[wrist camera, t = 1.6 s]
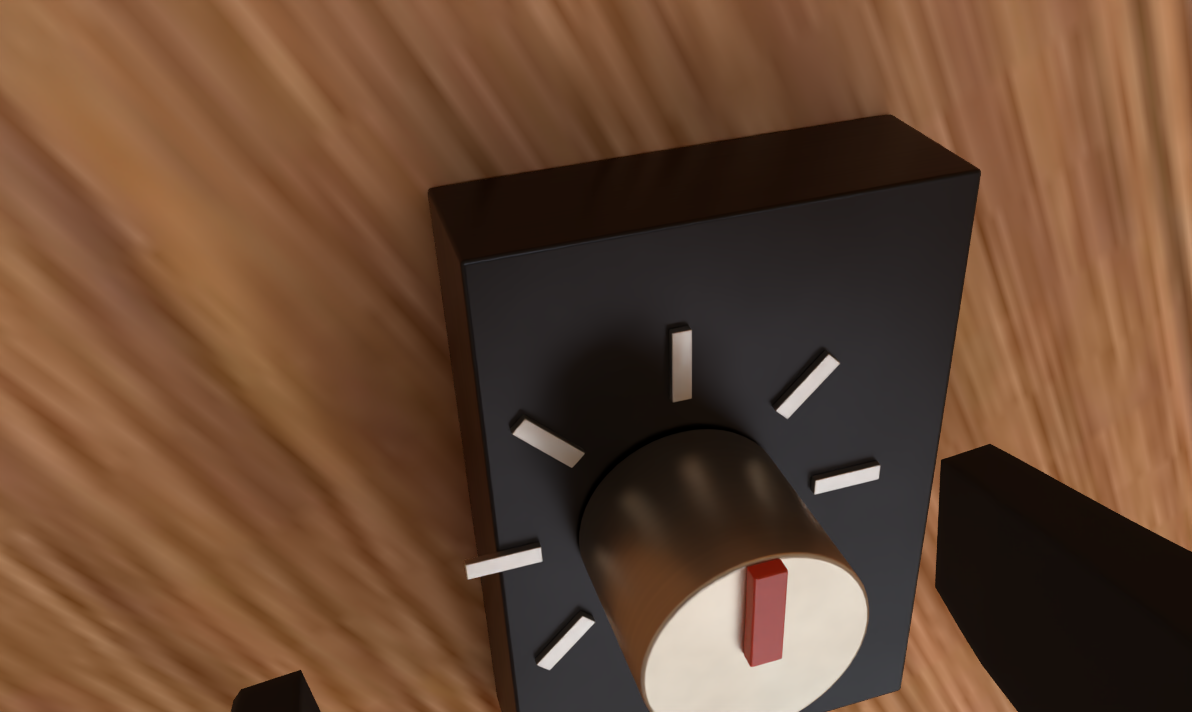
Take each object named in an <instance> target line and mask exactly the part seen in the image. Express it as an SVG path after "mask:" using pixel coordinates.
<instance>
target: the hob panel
mask: <svg viewBox="0 0 1192 712" xmlns="http://www.w3.org/2000/svg"><path fill="white" fill-rule="evenodd" d="M980 176H981V171H980V169H978V168H977V167H975V166H974V165H972V164H970V163H969V162H967V161H965V160H964V159H962V158H961V157H959V156H957V155H956V154H954V153H953V152H951V151H949V150H948V149H946V148H945V147H943V146H941V145H940V144H938V143H936V142H935V141H933V140H932V139H930V138H928V137H927V136H925V135H924V134H922V133H920V132H919V131H917V130H915V129H914V128H912V127H911V126H909V125H907V124H906V123H904V122H903V121H901V120H899V119H898V118H896V117H895V116H893V115H885V116H879V117H872V118H866V119H860V120H854V121H847V122H841V123H835V124H829V125H823V126H816V127H810V128H804V129H798V130H791V131H785V132H779V133H773V134H767V135H760V136H754V137H748V138H742V139H735V140H729V141H723V142H717V143H711V144H704V145H698V146H692V147H686V148H679V149H673V150H667V151H661V152H655V153H648V154H642V155H636V156H630V157H623V158H617V159H611V160H605V161H599V162H592V163H586V164H580V165H574V166H568V167H561V168H555V169H549V170H543V171H536V172H530V173H524V174H518V175H512V176H505V177H499V178H493V179H487V180H480V181H474V182H468V183H462V184H456V185H449V186H443V187H437V188H431V189H429V191H428V198H429V206H430V213H431V220H432V227H433V235H434V242H435V249H436V256H437V264H438V271H439V278H440V286H441V293H442V300H443V307H444V315H445V322H446V329H447V336H448V344H449V351H450V358H451V365H452V373H453V380H454V387H455V394H456V402H457V409H458V416H459V423H460V431H461V438H462V445H463V452H464V460H465V467H466V474H467V482H468V489H469V496H470V503H471V511H472V518H473V525H474V532H475V540H476V547H477V554H478V557H474V558H470V559H466V560H464V567H465V574H466V578H467V580H469V579H473V578H477V577H481V583H482V590H483V598H484V605H485V612H486V619H487V627H488V634H489V641H490V649H491V656H492V663H493V670H494V678H495V685H496V692H497V698H498V701H499V705H500V708H501V711H502V712H650V711H649V710H648V708H647V706H646V705H645V703H644V701H643V699H642V696H641V694H640V692H639V689H638V687H637V685H636V683H635V680H634V678H633V676H632V673H631V671H630V669H629V666H628V664H627V662H626V660H625V657H624V655H623V653H622V650H621V648H620V646H619V643H618V641H617V639H616V637H615V634H614V632H613V630H612V627H611V625H610V623H609V620H608V618H607V616H606V614H605V611H604V609H603V607H602V604H601V602H600V600H599V598H598V595H597V593H596V591H595V588H594V586H593V584H592V581H591V579H590V577H589V575H588V572H587V570H586V568H585V565H584V563H583V560H582V557H581V553H580V547H579V532H580V526H581V520H582V517H583V514H584V511H585V508H586V506H587V504H588V502H589V500H590V497H591V496H592V494H593V493H594V491H595V490H596V488H597V486H598V485H599V484H600V483H601V481H602V480H603V479H604V478H605V476H606V475H607V474H608V473H609V472H610V471H611V470H612V469H613V468H614V467H615V466H616V465H617V464H619V463H620V462H621V461H622V460H624V459H625V458H626V457H627V456H629V455H630V454H632V453H633V452H635V451H636V450H638V449H639V448H641V447H643V446H645V445H647V444H649V443H651V442H653V441H655V440H658V439H660V438H663V437H665V436H668V435H672V434H675V433H679V432H683V431H689V430H697V429H715V430H724V431H728V432H733V433H736V434H738V435H741V436H744V437H746V438H748V439H750V440H751V441H753V442H755V443H756V444H757V445H759V446H760V447H761V448H763V449H764V451H765V452H766V453H767V454H768V455H769V456H770V458H771V459H772V460H773V462H774V463H775V464H776V466H777V467H778V468H779V470H780V471H781V473H782V474H783V475H784V477H785V478H786V479H787V481H788V482H789V483H790V485H791V486H792V487H793V489H794V490H795V491H796V493H797V494H798V496H799V497H800V498H801V500H802V501H803V502H804V504H805V505H806V506H807V508H808V509H809V510H810V512H811V513H812V515H813V516H814V517H815V519H816V520H817V521H818V523H819V524H820V525H821V527H822V528H823V529H824V531H825V532H826V534H827V535H828V536H829V538H830V539H831V540H832V542H833V543H834V544H835V546H836V547H837V548H838V550H839V551H840V552H841V554H842V555H843V557H844V558H845V559H846V561H847V562H848V563H849V565H850V566H851V567H852V569H853V570H854V571H855V573H856V574H857V576H858V577H859V579H860V580H861V582H862V584H863V585H864V588H865V591H866V594H867V598H868V605H869V621H868V626H867V631H866V634H865V637H864V640H863V642H862V645H861V647H860V649H859V651H858V653H857V655H856V656H855V658H854V659H853V661H852V663H851V664H850V666H849V667H848V668H847V670H846V671H845V672H844V673H843V675H842V676H841V677H840V678H839V679H838V680H837V681H836V682H835V683H834V684H833V685H832V687H831V688H829V689H828V690H827V691H826V692H825V693H824V694H823V695H822V696H820V697H819V698H818V699H817V700H815V701H814V702H813V703H811V704H810V705H809V706H807V707H806V708H804V709H802V710H801V711H799V712H827V711H831V710H834V709H837V708H841V707H844V706H847V705H851V704H854V703H858V702H861V701H864V700H868V699H871V698H874V697H878V696H881V695H885V694H888V693H891V692H895V691H898V690H899V689H900V688H901V682H902V675H903V669H904V663H905V656H906V650H907V643H908V637H909V631H910V624H911V618H912V611H913V605H914V599H915V592H916V586H917V579H918V573H919V567H920V560H921V554H922V547H923V541H924V535H925V528H926V522H927V515H928V509H929V503H930V496H931V490H932V483H933V477H934V471H935V464H936V458H937V451H938V445H939V439H940V432H941V426H942V419H943V413H944V406H945V400H946V394H947V387H948V381H949V374H950V368H951V362H952V355H953V349H954V342H955V336H956V330H957V323H958V317H959V310H960V304H961V298H962V291H963V285H964V278H965V272H966V266H967V259H968V253H969V246H970V240H971V234H972V227H973V221H974V214H975V208H976V202H977V195H978V189H979V182H980Z"/></svg>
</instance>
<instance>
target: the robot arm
mask: <svg viewBox="0 0 1192 712" xmlns="http://www.w3.org/2000/svg"><path fill="white" fill-rule="evenodd" d="M935 587H936V589H937V591H938V592H939V594H940V596H941V598H942V599H943V601H944V603H945V604H946V606H947V608H948V610H949V611H950V613H951V615H952V616H953V618H954V620H955V622H956V623H957V625H958V627H959V628H960V630H961V632H962V633H963V635H964V637H965V638H966V640H967V641H968V643H969V645H970V646H971V648H972V649H973V651H974V653H975V654H976V656H977V658H978V659H979V661H980V662H981V664H982V665H983V667H984V668H985V669H986V671H987V672H988V673H989V675H990V676H991V677H992V679H993V680H994V681H995V683H996V684H997V685H998V686H999V688H1000V689H1001V690H1002V692H1003V693H1004V694H1005V695H1006V697H1007V698H1008V699H1009V701H1010V702H1011V703H1012V705H1013V706H1014V707H1015V708H1016V710H1017V711H1018V712H1192V552H1191V551H1189V550H1187V549H1185V548H1183V547H1181V546H1179V545H1177V544H1175V543H1173V542H1171V541H1169V540H1167V539H1165V538H1163V537H1161V536H1160V535H1158V534H1156V533H1154V532H1152V531H1150V530H1148V529H1146V528H1144V527H1142V526H1140V525H1139V524H1137V523H1135V522H1133V521H1131V520H1129V519H1127V518H1125V517H1124V516H1122V515H1120V514H1118V513H1116V512H1114V511H1112V510H1111V509H1109V508H1107V507H1105V506H1103V505H1101V504H1100V503H1098V502H1096V501H1094V500H1092V499H1090V498H1089V497H1087V496H1085V495H1083V494H1081V493H1079V492H1078V491H1076V490H1074V489H1072V488H1070V487H1069V486H1067V485H1065V484H1063V483H1061V482H1059V481H1058V480H1056V479H1054V478H1052V477H1050V476H1049V475H1047V474H1045V473H1043V472H1041V471H1040V470H1038V469H1036V468H1034V467H1032V466H1030V465H1029V464H1027V463H1025V462H1023V461H1021V460H1020V459H1018V458H1016V457H1014V456H1012V455H1010V454H1008V453H1007V452H1005V451H1003V450H1001V449H999V448H997V447H995V446H993V445H991V444H988V445H985V446H982V447H979V448H976V449H973V450H970V451H967V452H964V453H961V454H958V455H955V456H952V457H948V458H945V459H942V460H941V471H940V493H939V514H938V536H937V558H936V579H935ZM231 712H320V709H319V707H318V705H317V703H316V701H315V699H314V697H313V695H312V692H311V690H310V688H309V686H308V684H307V682H306V680H305V678H304V676H303V673H302V671H301V670H299V671H296V672H293V673H290V674H287V675H284V676H281V677H277V678H274V679H271V680H268V681H265V682H262V683H259V684H256V685H253V686H250V687H247V688H244V689H241V690H240V692H239V693H238V695H237V696H236V698H235V699H234V701H233V705H232V710H231Z"/></svg>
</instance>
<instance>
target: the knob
mask: <svg viewBox="0 0 1192 712" xmlns="http://www.w3.org/2000/svg"><path fill="white" fill-rule="evenodd" d="M579 547H580V553H581V557H582V560H583V563H584V565H585V568H586V570H587V572H588V575H589V577H590V579H591V581H592V584H593V586H594V588H595V591H596V593H597V595H598V598H599V600H600V602H601V604H602V607H603V609H604V611H605V614H606V616H607V618H608V620H609V623H610V625H611V627H612V630H613V632H614V634H615V637H616V639H617V641H618V643H619V646H620V648H621V650H622V653H623V655H624V657H625V660H626V662H627V664H628V666H629V669H630V671H631V673H632V676H633V678H634V680H635V683H636V685H637V687H638V689H639V692H640V694H641V696H642V699H643V701H644V703H645V705H646V706H647V708H648V710H649V711H650V712H799V711H801V710H802V709H804V708H806V707H807V706H809V705H810V704H811V703H813V702H814V701H815V700H817V699H818V698H819V697H820V696H822V695H823V694H824V693H825V692H826V691H827V690H828V689H829V688H831V687H832V685H833V684H834V683H835V682H836V681H837V680H838V679H839V678H840V677H841V676H842V675H843V673H844V672H845V671H846V670H847V668H848V667H849V666H850V664H851V663H852V661H853V659H854V658H855V656H856V655H857V653H858V651H859V649H860V647H861V645H862V642H863V640H864V637H865V634H866V631H867V626H868V621H869V605H868V598H867V594H866V591H865V588H864V585H863V584H862V582H861V580H860V579H859V577H858V576H857V574H856V573H855V571H854V570H853V569H852V567H851V566H850V565H849V563H848V562H847V561H846V559H845V558H844V557H843V555H842V554H841V552H840V551H839V550H838V548H837V547H836V546H835V544H834V543H833V542H832V540H831V539H830V538H829V536H828V535H827V534H826V532H825V531H824V529H823V528H822V527H821V525H820V524H819V523H818V521H817V520H816V519H815V517H814V516H813V515H812V513H811V512H810V510H809V509H808V508H807V506H806V505H805V504H804V502H803V501H802V500H801V498H800V497H799V496H798V494H797V493H796V491H795V490H794V489H793V487H792V486H791V485H790V483H789V482H788V481H787V479H786V478H785V477H784V475H783V474H782V473H781V471H780V470H779V468H778V467H777V466H776V464H775V463H774V462H773V460H772V459H771V458H770V456H769V455H768V454H767V453H766V452H765V451H764V449H763V448H761V447H760V446H759V445H757V444H756V443H755V442H753V441H751V440H750V439H748V438H746V437H744V436H741V435H738V434H736V433H733V432H728V431H724V430H715V429H697V430H689V431H683V432H679V433H675V434H672V435H668V436H665V437H663V438H660V439H658V440H655V441H653V442H651V443H649V444H647V445H645V446H643V447H641V448H639V449H638V450H636V451H635V452H633V453H632V454H630V455H629V456H627V457H626V458H625V459H624V460H622V461H621V462H620V463H619V464H617V465H616V466H615V467H614V468H613V469H612V470H611V471H610V472H609V473H608V474H607V475H606V476H605V478H604V479H603V480H602V481H601V483H600V484H599V485H598V486H597V488H596V490H595V491H594V493H593V494H592V496H591V497H590V500H589V502H588V504H587V506H586V508H585V511H584V514H583V517H582V520H581V526H580V532H579Z"/></svg>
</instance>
